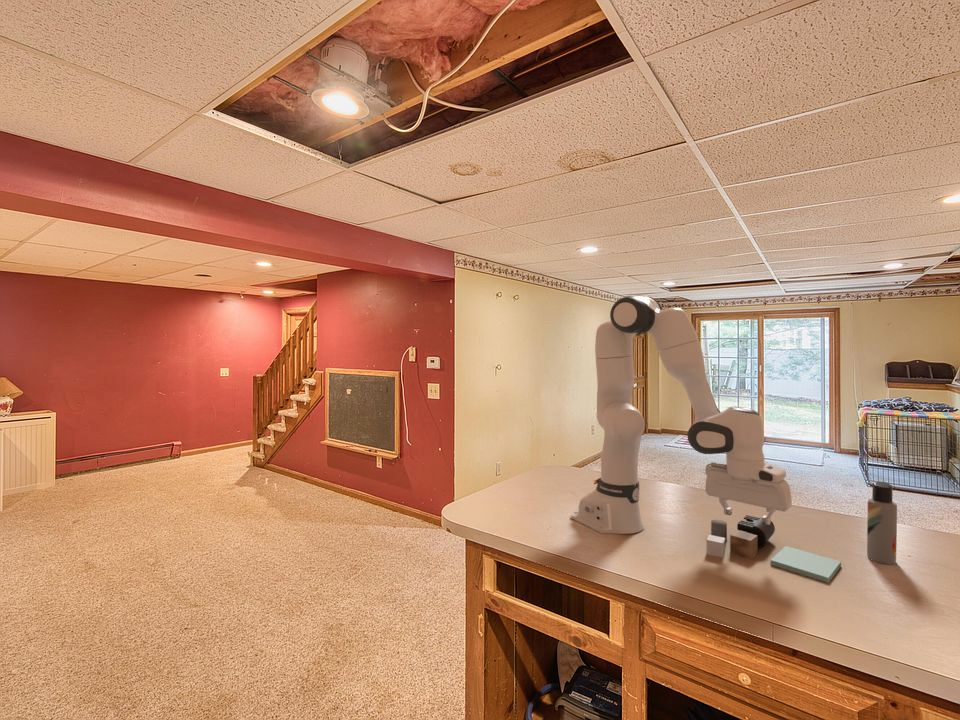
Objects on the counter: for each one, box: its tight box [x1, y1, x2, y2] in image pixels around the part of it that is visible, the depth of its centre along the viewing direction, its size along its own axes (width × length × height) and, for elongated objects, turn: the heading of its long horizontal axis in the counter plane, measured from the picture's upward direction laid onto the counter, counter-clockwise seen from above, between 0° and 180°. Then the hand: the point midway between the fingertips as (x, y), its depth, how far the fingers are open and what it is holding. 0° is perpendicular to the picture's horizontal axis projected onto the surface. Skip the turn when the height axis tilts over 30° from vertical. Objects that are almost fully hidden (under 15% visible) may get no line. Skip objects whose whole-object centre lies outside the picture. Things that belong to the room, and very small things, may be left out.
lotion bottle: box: [866, 481, 898, 565], centre depth 118 cm, size 6×6×20 cm
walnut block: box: [729, 529, 758, 560], centre depth 123 cm, size 5×5×5 cm
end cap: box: [736, 514, 776, 550], centre depth 129 cm, size 10×7×7 cm
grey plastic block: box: [705, 534, 726, 559], centre depth 123 cm, size 4×4×4 cm
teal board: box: [770, 545, 842, 583], centre depth 116 cm, size 12×12×1 cm
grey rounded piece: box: [710, 519, 728, 543], centre depth 132 cm, size 4×4×5 cm
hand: (746, 518), depth 122 cm, fingers open, 8 cm apart
